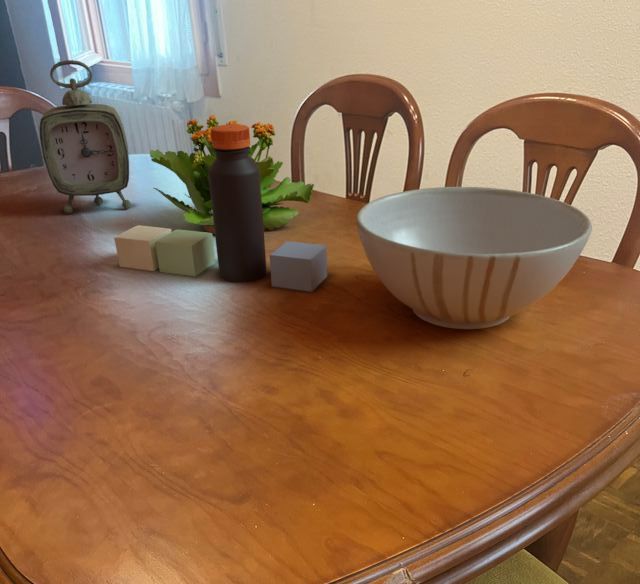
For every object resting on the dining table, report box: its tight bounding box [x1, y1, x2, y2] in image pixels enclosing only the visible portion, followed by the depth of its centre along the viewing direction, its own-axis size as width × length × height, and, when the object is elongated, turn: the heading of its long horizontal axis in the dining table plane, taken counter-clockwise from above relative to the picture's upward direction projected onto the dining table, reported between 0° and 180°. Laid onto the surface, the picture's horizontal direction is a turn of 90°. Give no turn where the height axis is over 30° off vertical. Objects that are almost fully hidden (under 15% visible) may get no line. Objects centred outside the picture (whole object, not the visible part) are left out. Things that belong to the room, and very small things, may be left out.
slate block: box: [269, 240, 328, 292], centre depth 91 cm, size 6×6×5 cm
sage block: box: [155, 228, 216, 277], centre depth 96 cm, size 6×6×5 cm
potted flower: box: [149, 114, 315, 235], centre depth 110 cm, size 25×24×18 cm
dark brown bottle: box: [208, 124, 268, 284], centre depth 89 cm, size 7×7×20 cm
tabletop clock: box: [39, 59, 132, 215], centre depth 120 cm, size 14×9×25 cm, turn 104°
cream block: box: [113, 224, 173, 272], centre depth 99 cm, size 6×6×5 cm
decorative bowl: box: [355, 186, 593, 330], centre depth 80 cm, size 27×27×12 cm
